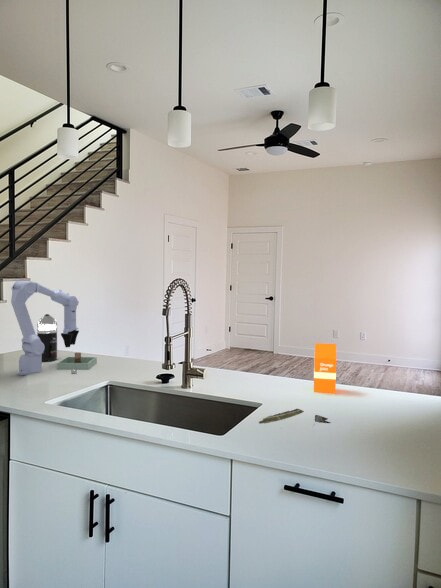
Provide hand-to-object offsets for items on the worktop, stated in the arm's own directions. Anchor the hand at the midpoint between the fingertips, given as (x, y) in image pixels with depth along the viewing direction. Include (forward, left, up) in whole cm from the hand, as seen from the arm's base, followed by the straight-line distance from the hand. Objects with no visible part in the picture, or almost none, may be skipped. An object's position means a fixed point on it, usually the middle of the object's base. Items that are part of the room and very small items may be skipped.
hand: (70, 345), depth 217 cm
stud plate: (+8, -19, -10) cm, 23 cm away
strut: (+5, -4, -10) cm, 12 cm away
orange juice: (+120, -40, -11) cm, 127 cm away
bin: (+5, -4, -10) cm, 12 cm away
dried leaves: (+100, -79, -11) cm, 128 cm away
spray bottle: (-17, +14, -11) cm, 24 cm away
